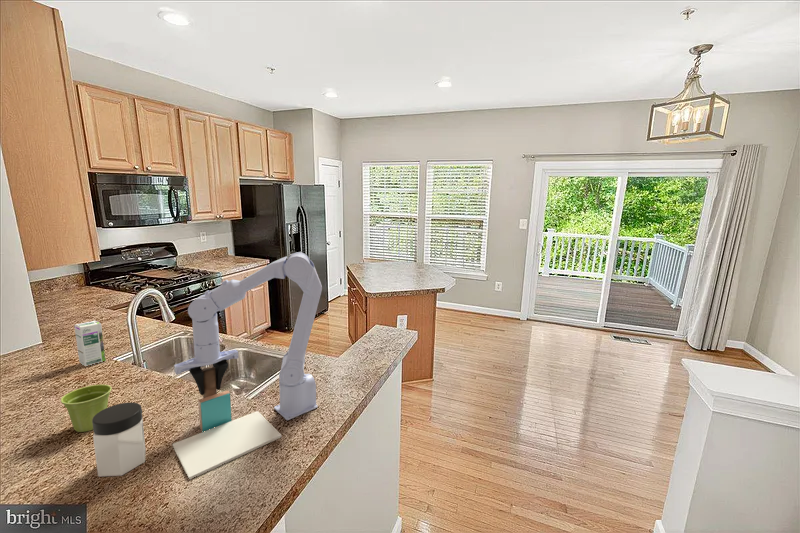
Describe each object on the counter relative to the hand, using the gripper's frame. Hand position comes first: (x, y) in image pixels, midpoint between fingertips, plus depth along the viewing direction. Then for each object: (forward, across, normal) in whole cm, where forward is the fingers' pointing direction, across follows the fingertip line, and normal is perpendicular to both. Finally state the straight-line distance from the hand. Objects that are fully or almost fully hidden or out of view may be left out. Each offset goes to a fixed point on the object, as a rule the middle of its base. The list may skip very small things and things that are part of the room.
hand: (209, 390), depth 90 cm
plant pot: (+8, +23, -17) cm, 30 cm away
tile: (+8, 0, +4) cm, 9 cm away
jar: (+8, +19, +5) cm, 21 cm away
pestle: (+3, 0, 0) cm, 3 cm away
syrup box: (+8, +20, -63) cm, 67 cm away
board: (+8, 0, +13) cm, 15 cm away
